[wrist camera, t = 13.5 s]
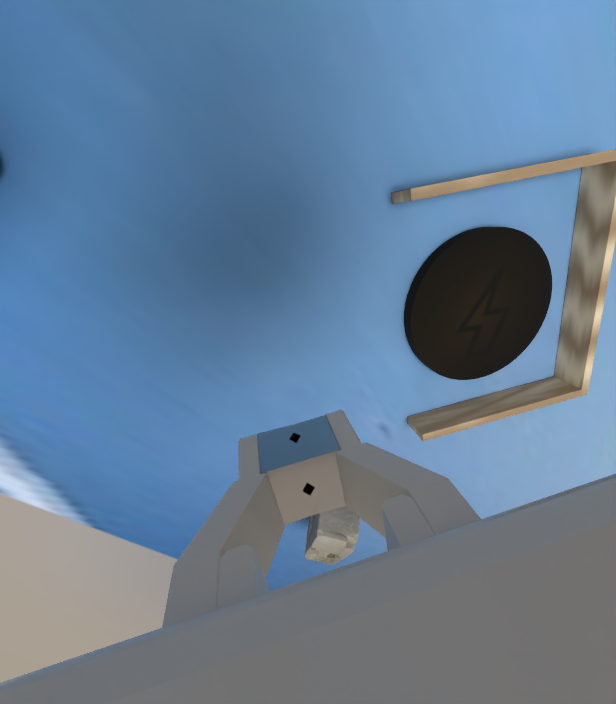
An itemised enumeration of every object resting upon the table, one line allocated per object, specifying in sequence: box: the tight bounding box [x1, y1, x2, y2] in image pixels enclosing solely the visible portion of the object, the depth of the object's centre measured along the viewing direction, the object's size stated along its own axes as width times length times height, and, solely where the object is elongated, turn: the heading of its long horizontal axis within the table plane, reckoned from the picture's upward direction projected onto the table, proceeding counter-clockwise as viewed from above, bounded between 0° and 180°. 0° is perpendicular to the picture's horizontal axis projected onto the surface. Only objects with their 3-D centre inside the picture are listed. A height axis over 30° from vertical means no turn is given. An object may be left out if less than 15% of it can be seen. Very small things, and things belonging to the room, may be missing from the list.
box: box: [392, 149, 616, 441], centre depth 37 cm, size 28×23×4 cm
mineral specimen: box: [305, 506, 359, 564], centre depth 42 cm, size 7×9×8 cm
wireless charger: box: [404, 227, 552, 380], centre depth 38 cm, size 18×18×2 cm
